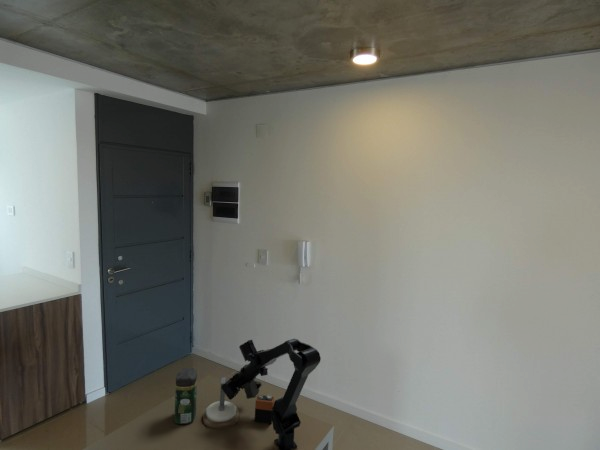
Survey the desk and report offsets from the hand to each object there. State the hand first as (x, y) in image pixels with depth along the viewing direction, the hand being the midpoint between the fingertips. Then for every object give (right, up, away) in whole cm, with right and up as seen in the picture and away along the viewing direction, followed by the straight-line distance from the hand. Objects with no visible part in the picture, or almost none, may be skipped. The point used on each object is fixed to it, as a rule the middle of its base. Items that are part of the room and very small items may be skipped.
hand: (225, 391), depth 144 cm
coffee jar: (-15, -7, -6) cm, 17 cm away
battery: (+16, -9, -5) cm, 19 cm away
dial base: (-1, -8, -5) cm, 9 cm away
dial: (-1, -6, -5) cm, 8 cm away
